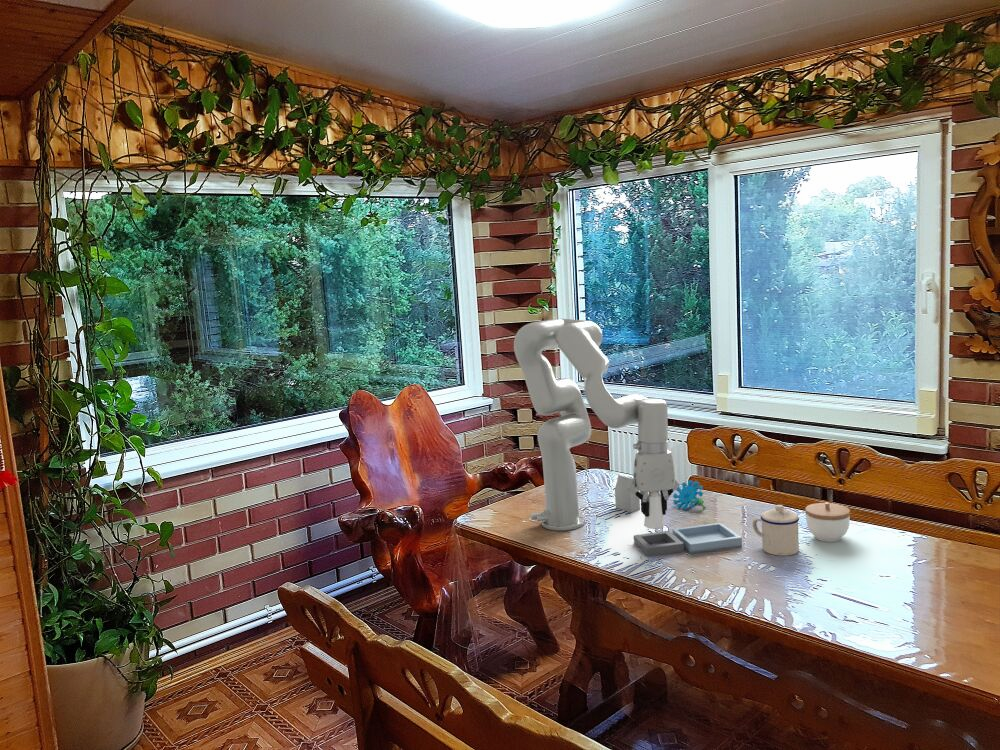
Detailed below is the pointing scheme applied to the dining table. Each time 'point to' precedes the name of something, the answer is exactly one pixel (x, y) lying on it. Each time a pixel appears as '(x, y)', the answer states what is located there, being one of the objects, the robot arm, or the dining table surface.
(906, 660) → the dining table surface
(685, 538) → the parts tray
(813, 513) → the lidded jar
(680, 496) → the blue spiky cluster
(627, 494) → the grey upright wedge block
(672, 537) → the socket block
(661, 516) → the pepper shaker
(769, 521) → the teacup with lid
